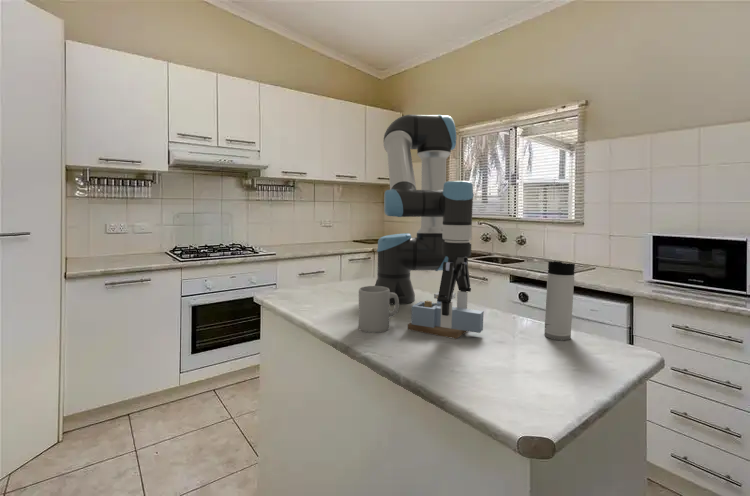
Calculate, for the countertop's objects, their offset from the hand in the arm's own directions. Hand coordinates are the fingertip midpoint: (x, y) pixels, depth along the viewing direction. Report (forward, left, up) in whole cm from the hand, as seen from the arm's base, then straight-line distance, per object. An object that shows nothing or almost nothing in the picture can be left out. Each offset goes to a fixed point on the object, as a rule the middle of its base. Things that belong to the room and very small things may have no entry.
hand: (454, 320), depth 109 cm
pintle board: (-2, -4, -3) cm, 6 cm away
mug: (+7, -19, -3) cm, 21 cm away
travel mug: (-12, +23, -3) cm, 27 cm away
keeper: (-5, -5, -2) cm, 8 cm away
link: (0, -2, -2) cm, 2 cm away
